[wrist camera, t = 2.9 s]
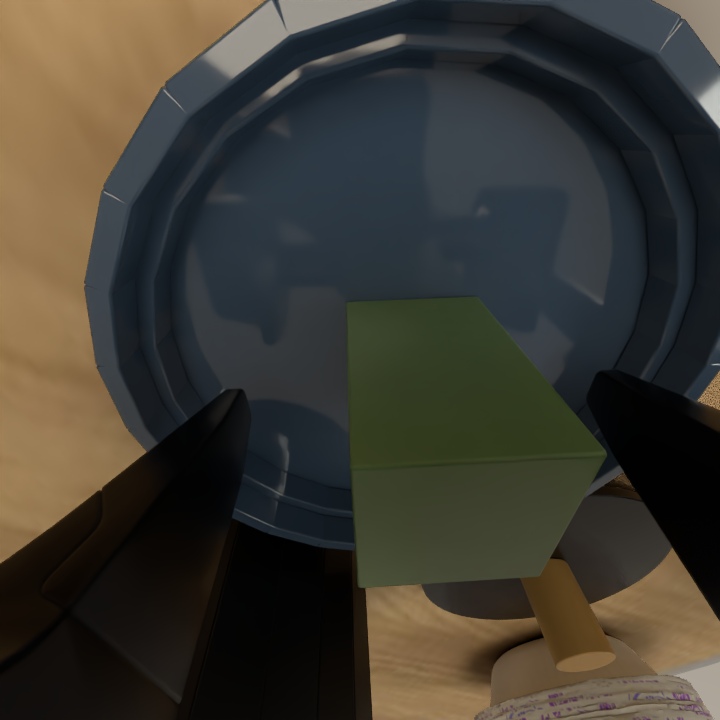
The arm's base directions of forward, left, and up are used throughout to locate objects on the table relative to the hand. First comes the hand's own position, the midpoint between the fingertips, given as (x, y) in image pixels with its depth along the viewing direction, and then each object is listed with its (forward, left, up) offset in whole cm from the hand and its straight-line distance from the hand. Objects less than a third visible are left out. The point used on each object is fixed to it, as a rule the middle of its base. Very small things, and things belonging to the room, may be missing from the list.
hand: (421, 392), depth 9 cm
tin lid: (-11, +10, -2) cm, 15 cm away
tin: (+3, +14, -2) cm, 15 cm away
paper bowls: (-22, +24, -2) cm, 33 cm away
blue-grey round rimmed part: (0, 0, -2) cm, 2 cm away
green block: (0, 0, -2) cm, 2 cm away
